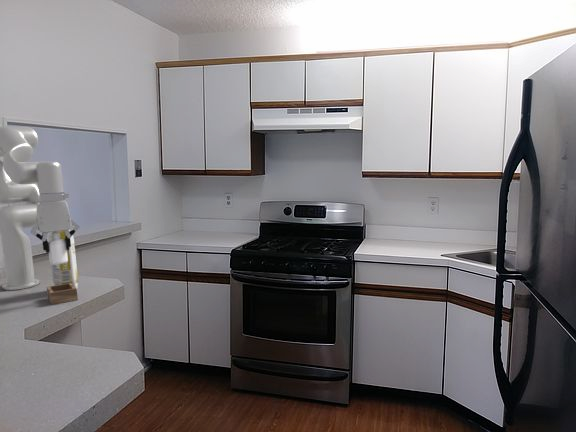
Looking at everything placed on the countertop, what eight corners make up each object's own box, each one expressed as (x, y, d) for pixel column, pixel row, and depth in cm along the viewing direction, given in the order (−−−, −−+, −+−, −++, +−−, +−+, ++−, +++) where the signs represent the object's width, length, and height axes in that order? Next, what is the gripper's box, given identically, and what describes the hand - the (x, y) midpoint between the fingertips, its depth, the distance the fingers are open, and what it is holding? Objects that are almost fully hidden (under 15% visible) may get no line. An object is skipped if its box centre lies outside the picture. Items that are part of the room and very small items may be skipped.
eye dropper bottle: (67, 263, 157) (63, 228, 156) (49, 265, 155) (45, 230, 154) (68, 261, 161) (65, 227, 160) (50, 263, 159) (46, 228, 158)
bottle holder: (47, 298, 162) (46, 286, 161) (72, 293, 166) (71, 282, 166) (51, 304, 154) (50, 293, 153) (77, 299, 158) (76, 288, 158)
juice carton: (80, 291, 169) (73, 226, 166) (56, 295, 165) (48, 229, 162) (76, 285, 177) (70, 224, 174) (53, 289, 173) (46, 226, 170)
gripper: (77, 195, 163) (82, 245, 166) (21, 200, 154) (27, 253, 156) (81, 196, 157) (86, 248, 160) (23, 201, 148) (30, 256, 150)
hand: (57, 250), depth 158 cm, fingers closed on eye dropper bottle, 5 cm apart
